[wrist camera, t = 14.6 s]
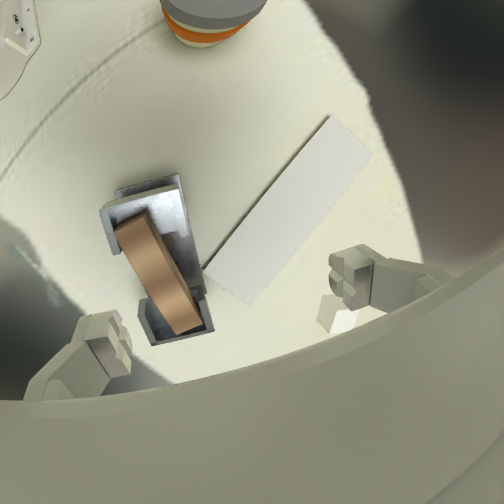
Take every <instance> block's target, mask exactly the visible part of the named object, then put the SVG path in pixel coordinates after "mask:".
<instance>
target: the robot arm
mask: <svg viewBox="0 0 504 504" xmlns="http://www.w3.org/2000/svg"><path fill="white" fill-rule="evenodd" d="M32 39H34V40H33V41H32ZM31 41H32V42H31ZM39 45H40V36H39V31H38V25H37V20H36V13H35V6H34V0H0V100H1V99H2V98H3V97H4V96H5V95H7V94H8V92H9V91H10V90H11V89H12V88H13V86H14V85H15V84H16V82H17V81H18V79H19V78H20V76H21V74H22V72H23V70H24V68H25V66H26V63H27V61H28V60H29V58H30V57H31V56H32V55H33V54H34V52H35V51H36V50H37V49H38V47H39ZM329 266H330V267H331V268H332V270H331V271H330V273H329V284H330V287H331V290H332V291H333V293H334V294H335V295H336V296H337V297H341V298H343V303H344V304H345V305H346V306H347V307H348V309H349V310H350V311H351V312H352V311H355V310H358V309H360V308H363V307H366V306H368V305H370V306H371V307H374V308H376V309H379V310H381V311H384V312H386V313H388V314H386V315H384V316H382V317H380V318H377V319H375V320H373V321H371V322H368V323H366V324H364V325H362V326H359V327H357V328H354V329H352V330H350V331H347V332H345V333H342V334H340V335H337V336H335V337H332V338H330V339H327V340H324V341H322V342H319V343H316V344H314V345H311V346H308V347H306V348H303V349H300V350H297V351H294V352H291V353H288V354H285V355H282V356H279V357H276V358H273V359H270V360H267V361H263V362H260V363H257V364H253V365H250V366H247V367H243V368H240V369H236V370H232V371H229V372H225V373H221V374H217V375H213V376H209V377H205V378H201V379H197V380H192V381H188V382H183V383H178V384H174V385H169V386H163V387H159V388H153V389H148V390H141V391H136V392H129V393H122V394H114V395H106V396H100V394H101V393H102V391H103V390H104V388H105V387H106V385H107V384H108V382H109V380H110V378H113V377H118V376H123V375H128V374H130V372H131V371H130V370H131V359H130V358H129V356H130V354H131V353H132V341H131V337H130V334H129V332H128V330H127V328H125V327H124V326H122V325H121V322H122V318H121V316H120V314H119V312H118V311H117V310H116V309H115V310H111V311H106V312H101V313H96V314H90V315H86V316H82V317H81V318H80V319H79V321H78V324H77V327H76V329H75V332H74V335H73V338H72V341H71V343H70V344H67V345H66V346H65V347H64V348H63V349H62V350H61V351H59V353H57V354H56V355H55V356H54V357H53V358H52V359H51V360H50V361H49V362H48V363H47V364H46V365H45V366H44V367H43V368H42V369H41V370H40V371H39V372H38V373H37V374H36V375H35V376H34V377H33V378H32V379H31V380H30V381H29V384H28V387H27V390H26V393H25V396H24V399H23V401H2V400H1V401H0V504H504V249H502V250H500V251H499V252H497V253H496V254H494V255H493V256H491V257H490V258H488V259H487V260H485V261H484V262H482V263H480V264H479V265H477V266H476V267H474V268H472V269H471V270H469V271H468V272H466V273H464V274H463V275H461V276H459V277H457V278H456V277H454V276H453V275H452V274H450V273H448V272H447V271H445V270H444V269H442V268H440V267H435V266H429V265H425V264H419V263H414V262H409V261H403V260H398V259H392V258H389V259H386V258H385V257H383V256H382V255H380V254H379V253H377V252H376V251H374V250H372V249H371V248H369V247H368V246H366V245H365V244H360V245H357V246H354V247H351V248H348V249H345V250H342V251H339V252H336V253H333V254H330V256H329Z"/></svg>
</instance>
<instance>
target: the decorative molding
mask: <svg viewBox="0 0 504 504" xmlns="http://www.w3.org/2000/svg"><path fill="white" fill-rule="evenodd" d="M373 156H374V154H373V153H372V152H371V151H370V150H369V149H368V148H367V147H366V146H365V145H364V144H363V143H362V142H361V141H360V140H359V139H358V138H357V137H356V136H355V135H354V134H353V133H352V132H351V131H350V130H349V129H348V128H347V127H346V126H345V125H344V124H343V123H341V122H340V121H339V120H338V119H337V118H336V117H335V116H334V115H333V114H332V115H331V116H330V117H329V118H328V120H327V121H326V122H325V123H324V124H323V125H322V127H321V128H320V129H319V130H318V131H317V132H316V134H315V135H314V136H313V137H312V138H311V139H310V141H309V142H308V143H307V144H306V145H305V146H304V148H303V149H302V150H301V151H300V152H299V154H298V155H297V156H296V157H295V158H294V159H293V161H292V162H291V163H290V164H289V165H288V167H287V168H286V169H285V170H284V171H283V173H282V174H281V175H280V176H279V177H278V179H277V180H276V181H275V182H274V183H273V185H272V186H271V187H270V188H269V190H268V191H267V192H266V193H265V194H264V196H263V197H262V198H261V199H260V201H259V202H258V203H257V204H256V205H255V207H254V208H253V209H252V210H251V212H250V213H249V214H248V215H247V217H246V218H245V219H244V220H243V221H242V223H241V224H240V225H239V226H238V228H237V229H236V230H235V231H234V233H233V234H232V235H231V236H230V238H229V239H228V240H227V241H226V243H225V244H224V245H223V247H222V248H221V249H220V250H219V252H218V253H217V254H216V255H215V257H214V258H213V259H212V261H211V262H210V263H209V264H208V266H207V267H206V268H205V269H204V271H203V272H202V273H204V274H205V275H206V276H208V277H209V278H210V279H212V280H213V281H214V282H216V283H217V284H219V285H220V286H221V287H223V288H224V289H225V290H227V291H228V292H230V293H231V294H232V295H234V296H235V297H237V298H238V299H239V300H241V301H242V302H244V303H245V304H246V305H248V306H249V307H250V306H251V304H252V303H253V302H254V301H255V300H256V299H257V297H258V296H259V295H260V294H261V293H262V292H263V291H264V289H265V288H266V287H267V286H268V285H269V284H270V282H271V281H272V280H273V279H274V278H275V277H276V275H277V274H278V273H279V272H280V271H281V270H282V268H283V267H284V266H285V265H286V264H287V262H288V261H289V260H290V259H291V258H292V257H293V255H294V254H295V253H296V252H297V251H298V249H299V248H300V247H301V246H302V245H303V243H304V242H305V241H306V240H307V239H308V237H309V236H310V235H311V234H312V232H313V231H314V230H315V229H316V228H317V226H318V225H319V224H320V223H321V221H322V220H323V219H324V218H325V217H326V215H327V214H328V213H329V212H330V210H331V209H332V208H333V207H334V205H335V204H336V203H337V202H338V200H339V199H340V198H341V197H342V195H343V194H344V193H345V192H346V190H347V189H348V188H349V187H350V185H351V184H352V183H353V181H354V180H355V179H356V178H357V176H358V175H359V174H360V172H361V171H362V170H363V169H364V167H365V166H366V165H367V163H368V162H369V161H370V160H371V158H372V157H373Z"/></svg>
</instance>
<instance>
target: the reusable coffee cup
mask: <svg viewBox="0 0 504 504" xmlns="http://www.w3.org/2000/svg"><path fill="white" fill-rule="evenodd" d="M266 1H267V0H160V3H161V5H162V10H163V13H164V16H165V18H166V21H167V23H168V26H169V27H170V29H171V30H172V31H173V32H174V34H175V36H176V37H177V38H178V39H179V40H180V41H181V42H182V43H184V44H186V45H188V46H191V47H196V48H205V47H210V46H214V45H216V44H218V43H220V42H221V41H222V40H224V39H226V38H229V37H230V36H232V35H233V34H235V33H236V32H237V31H239V30H240V29H241V28H242V27H244V26H245V25H246V24H247V23H248V22H249V21H250V20H251V19H253V18H254V17H255V16H256V15H257V14H258V13H259V12H260V11H261V10H262V8H263V7H264V5H265V3H266Z"/></svg>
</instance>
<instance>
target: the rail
mask: <svg viewBox="0 0 504 504" xmlns="http://www.w3.org/2000/svg"><path fill="white" fill-rule="evenodd" d="M113 234H114V236H115V238H116V239H117V241H118V243H119V245H120V247H121V248H122V250H123V252H124V254H125V255H126V257H127V259H128V261H129V262H130V264H131V266H132V267H133V269H134V271H135V272H136V274H137V276H138V277H139V279H140V281H141V282H142V284H143V285H144V287H145V289H146V290H147V292H148V293H149V295H150V296H151V298H152V300H153V301H154V303H155V304H156V306H157V307H158V309H159V310H160V312H161V313H162V315H163V316H164V318H165V319H166V321H167V322H168V323H169V325H170V326H171V328H172V329H173V331H174V332H175V333H176V335H178V334H180V333H182V332H185V331H187V330H190V329H192V328H194V327H197V326H199V325H201V324H203V322H202V317H201V312H200V307H199V305H198V304H197V302H196V300H195V298H194V297H193V295H192V293H191V291H190V290H189V288H188V286H187V284H186V283H185V281H184V279H183V277H182V275H181V274H180V272H179V270H178V268H177V266H176V264H175V263H174V261H173V259H172V257H171V255H170V253H169V251H168V249H167V247H166V246H165V244H164V242H163V240H162V238H161V236H160V234H159V232H158V230H157V228H156V226H155V224H154V222H153V220H152V218H151V216H150V214H149V212H148V210H147V208H146V209H144V210H142V211H140V212H138V213H136V214H134V215H132V216H130V217H128V218H126V219H124V220H123V221H121V222H119V223H118V225H117V227H116V229H115V230H114V232H113Z"/></svg>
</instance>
